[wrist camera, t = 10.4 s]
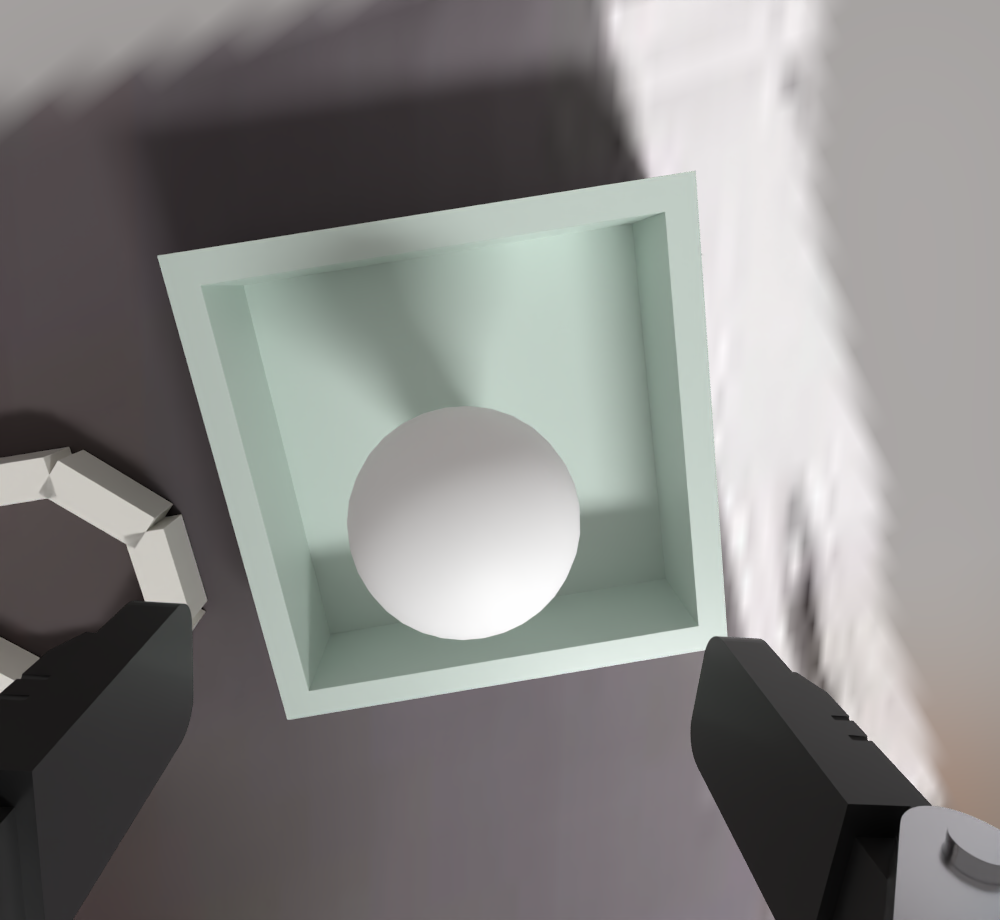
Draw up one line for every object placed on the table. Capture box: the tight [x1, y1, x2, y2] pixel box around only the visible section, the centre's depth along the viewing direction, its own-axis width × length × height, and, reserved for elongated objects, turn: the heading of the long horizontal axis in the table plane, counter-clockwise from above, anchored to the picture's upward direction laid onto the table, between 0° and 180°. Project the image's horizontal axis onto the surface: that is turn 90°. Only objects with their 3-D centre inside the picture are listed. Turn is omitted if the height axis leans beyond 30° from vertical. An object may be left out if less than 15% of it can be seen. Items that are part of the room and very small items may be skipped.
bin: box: [157, 171, 727, 720], centre depth 23 cm, size 16×16×4 cm
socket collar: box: [0, 447, 207, 693], centre depth 25 cm, size 10×10×2 cm
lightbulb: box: [347, 406, 580, 640], centre depth 20 cm, size 6×6×11 cm
